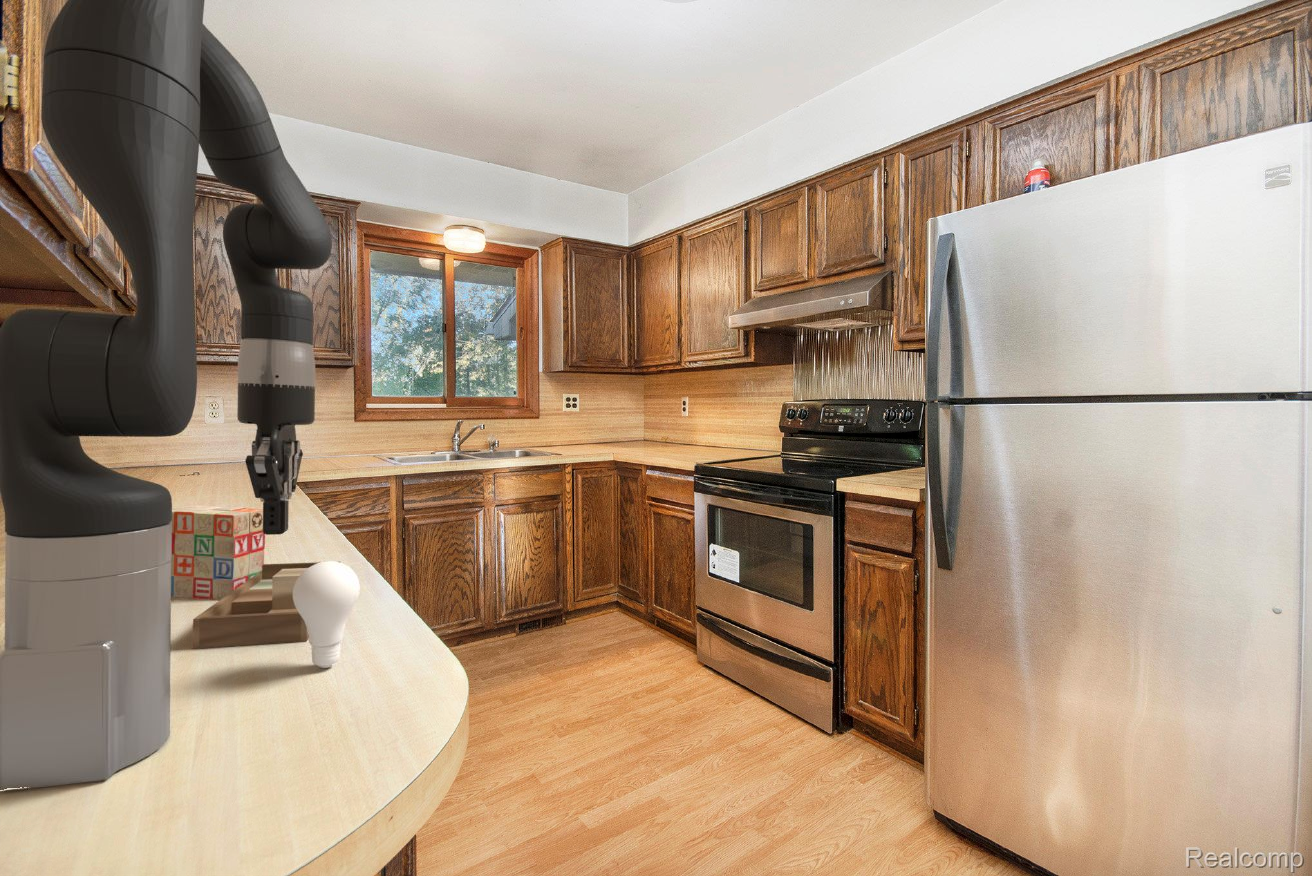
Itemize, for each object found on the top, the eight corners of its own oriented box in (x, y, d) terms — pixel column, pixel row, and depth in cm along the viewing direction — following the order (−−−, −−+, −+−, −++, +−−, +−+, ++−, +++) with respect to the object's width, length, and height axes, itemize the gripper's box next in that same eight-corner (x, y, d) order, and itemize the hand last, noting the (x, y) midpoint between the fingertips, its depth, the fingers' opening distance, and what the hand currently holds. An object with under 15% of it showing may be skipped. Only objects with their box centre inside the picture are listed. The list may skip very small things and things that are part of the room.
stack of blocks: (93, 593, 88) (93, 507, 87) (134, 582, 94) (135, 502, 94) (233, 601, 86) (234, 513, 86) (265, 589, 92) (266, 507, 92)
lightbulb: (283, 682, 60) (284, 570, 60) (301, 658, 66) (302, 556, 66) (351, 676, 62) (353, 567, 61) (363, 654, 68) (365, 554, 67)
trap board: (306, 641, 71) (307, 602, 71) (192, 649, 68) (193, 608, 68) (344, 591, 91) (344, 561, 91) (258, 595, 88) (258, 564, 88)
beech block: (309, 607, 75) (309, 575, 75) (272, 609, 74) (272, 576, 74) (317, 598, 79) (317, 567, 79) (282, 600, 78) (282, 569, 78)
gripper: (299, 381, 65) (296, 544, 66) (326, 386, 78) (324, 522, 78) (216, 378, 63) (214, 546, 63) (258, 383, 75) (257, 523, 76)
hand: (275, 533), depth 71 cm, fingers closed
